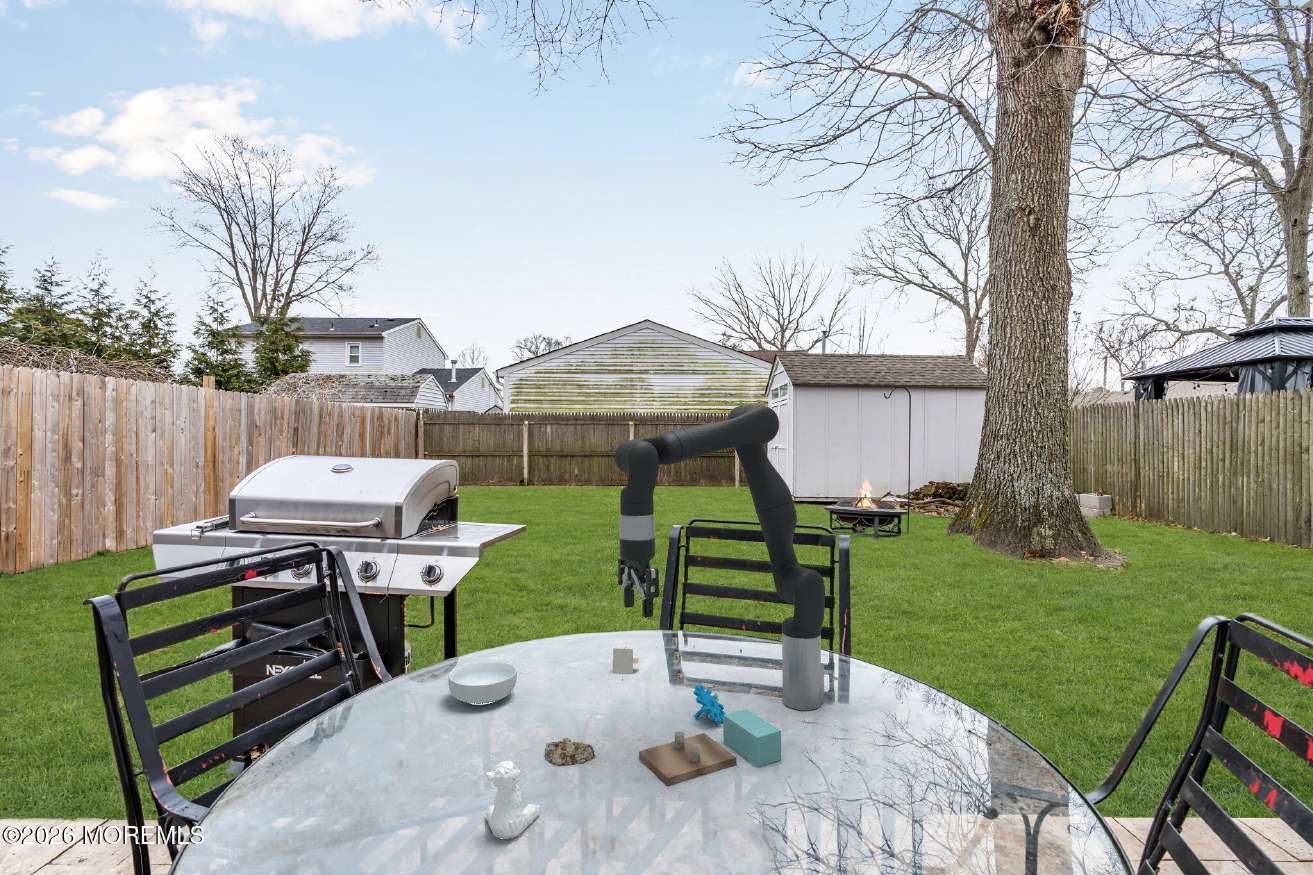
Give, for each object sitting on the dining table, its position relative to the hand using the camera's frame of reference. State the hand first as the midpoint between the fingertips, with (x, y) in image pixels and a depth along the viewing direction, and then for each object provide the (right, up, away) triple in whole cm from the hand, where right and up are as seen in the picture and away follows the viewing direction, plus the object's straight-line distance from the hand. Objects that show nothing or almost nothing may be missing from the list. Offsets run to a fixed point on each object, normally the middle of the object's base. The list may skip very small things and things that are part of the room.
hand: (638, 611), depth 142 cm
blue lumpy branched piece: (+16, -29, +15) cm, 36 cm away
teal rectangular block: (+24, -29, -1) cm, 38 cm away
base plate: (+10, -29, -5) cm, 31 cm away
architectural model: (-5, -29, +44) cm, 53 cm away
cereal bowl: (-40, -29, +27) cm, 56 cm away
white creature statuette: (-21, -30, -27) cm, 46 cm away
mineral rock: (-14, -30, -2) cm, 33 cm away
